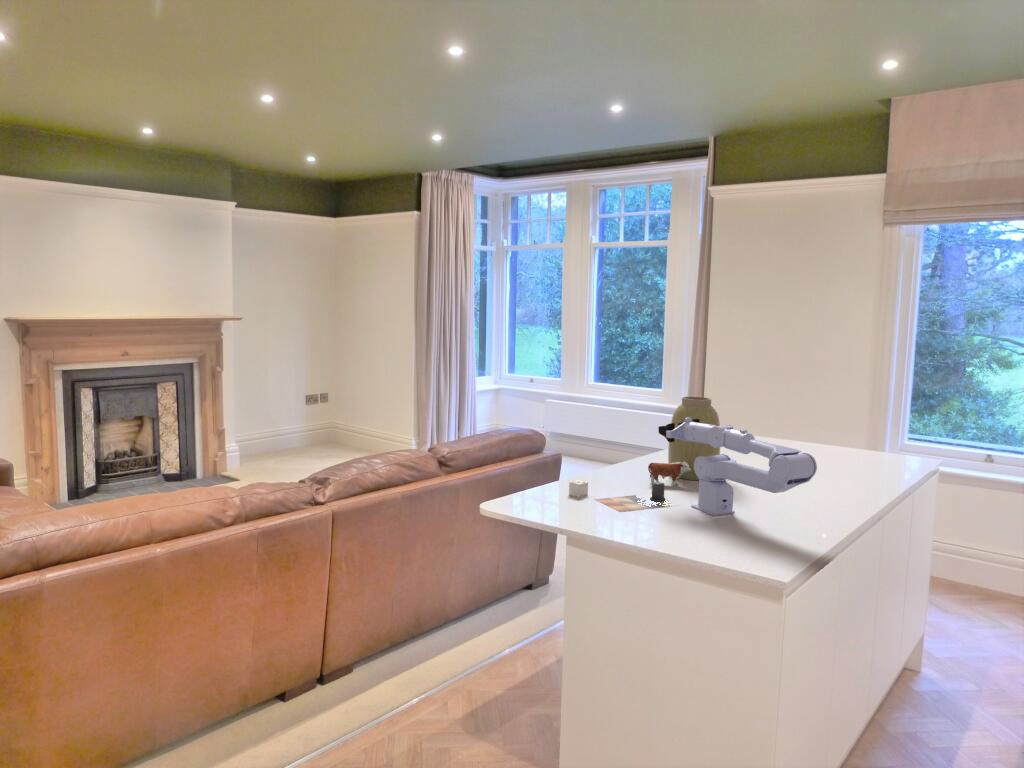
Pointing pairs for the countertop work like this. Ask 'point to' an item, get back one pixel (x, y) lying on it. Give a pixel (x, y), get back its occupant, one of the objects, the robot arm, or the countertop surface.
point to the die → (578, 488)
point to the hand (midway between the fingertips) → (669, 428)
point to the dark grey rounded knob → (657, 492)
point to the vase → (691, 450)
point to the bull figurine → (668, 470)
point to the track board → (628, 503)
